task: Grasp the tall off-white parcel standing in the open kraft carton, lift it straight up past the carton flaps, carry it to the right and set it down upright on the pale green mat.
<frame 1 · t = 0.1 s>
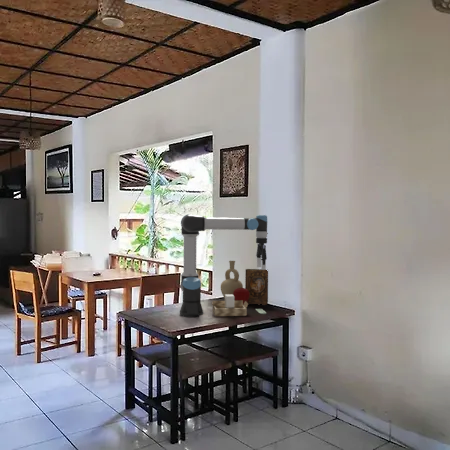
hand: (261, 268, 335), 28 cm above the table, fingers open, 13 cm apart
book: (256, 304, 352), on the table
vase: (231, 301, 363), on the table
parcel: (229, 313, 314), point 1 cm above the table, touching carton
mat: (255, 312, 325), on the table
apple: (241, 305, 347), on the table
carton: (229, 315, 314), on the table
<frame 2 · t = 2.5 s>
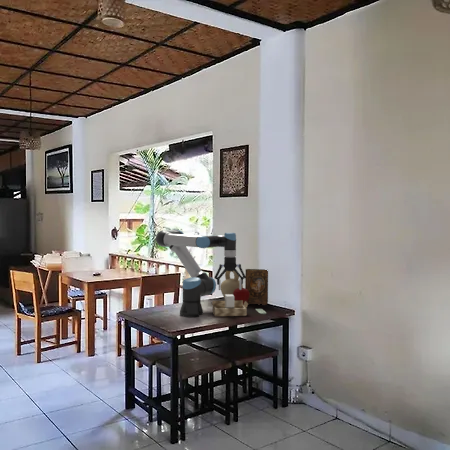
hand: (230, 289, 313), 17 cm above the table, fingers open, 13 cm apart
nothing on the table moved.
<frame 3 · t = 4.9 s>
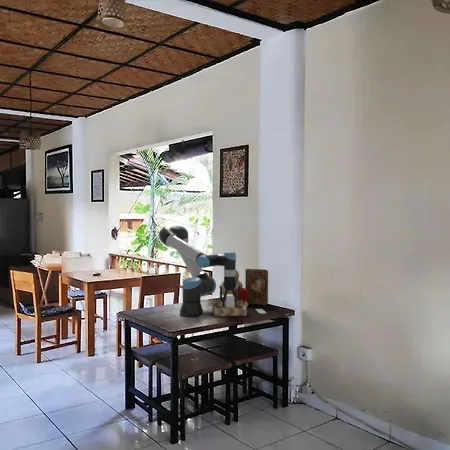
hand: (229, 311, 314), 2 cm above the table, fingers closed on parcel, 5 cm apart
parcel: (229, 313, 314), point 1 cm above the table, touching carton, gripper
everything else where it was.
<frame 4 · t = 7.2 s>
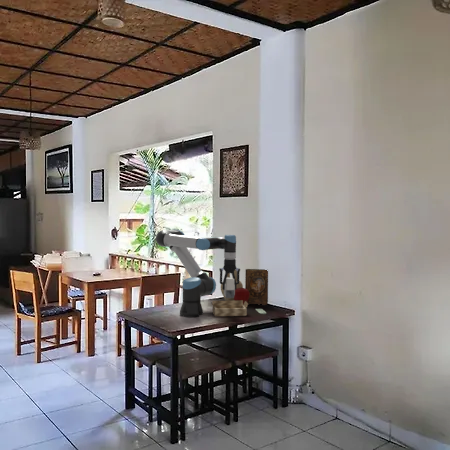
hand: (229, 294, 313), 13 cm above the table, fingers closed on parcel, 5 cm apart
parcel: (229, 296, 313), point 12 cm above the table, touching gripper
everything else where it was.
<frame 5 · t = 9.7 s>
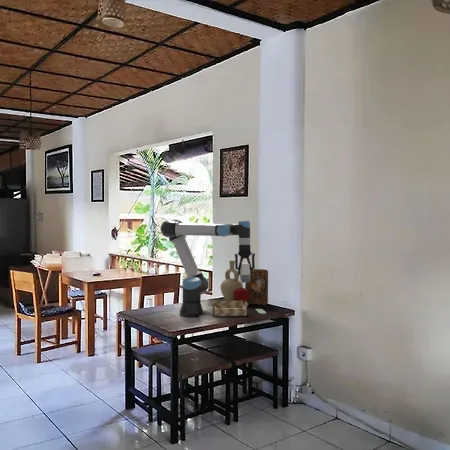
hand: (245, 279, 318), 22 cm above the table, fingers closed on parcel, 5 cm apart
parcel: (245, 281, 318), point 21 cm above the table, touching gripper
everything else where it was.
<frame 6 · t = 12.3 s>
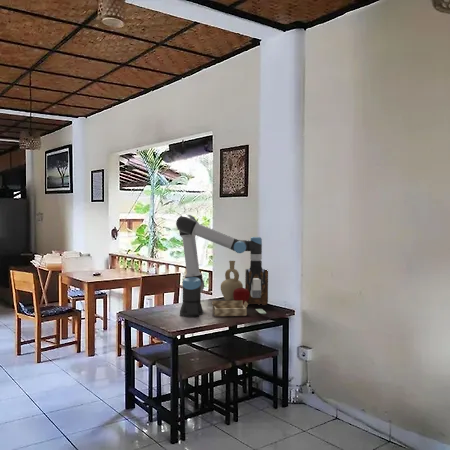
hand: (255, 294, 324), 12 cm above the table, fingers closed on parcel, 5 cm apart
parcel: (255, 296, 324), point 10 cm above the table, touching gripper
everything else where it was.
when the fingers open (4 cm above the table, at t = 14.5 s): parcel drops 2 cm, resting on mat.
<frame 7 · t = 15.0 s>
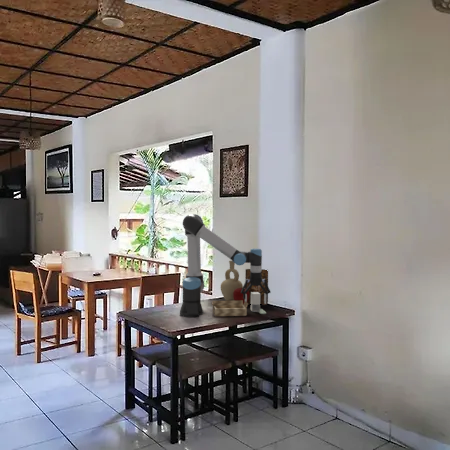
hand: (255, 303, 324), 6 cm above the table, fingers open, 13 cm apart
parcel: (255, 310, 325), point 1 cm above the table, touching mat
everything else where it was.
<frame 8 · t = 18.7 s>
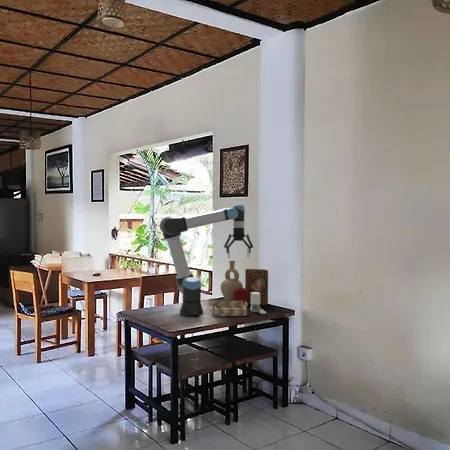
hand: (238, 258, 337), 35 cm above the table, fingers open, 13 cm apart
nothing on the table moved.
at the end: parcel inside the target area on the mat (0.1 cm from its centre), point 0.8 cm above the mat's base; parcel tilted 0°; the gripper is holding nothing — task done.
